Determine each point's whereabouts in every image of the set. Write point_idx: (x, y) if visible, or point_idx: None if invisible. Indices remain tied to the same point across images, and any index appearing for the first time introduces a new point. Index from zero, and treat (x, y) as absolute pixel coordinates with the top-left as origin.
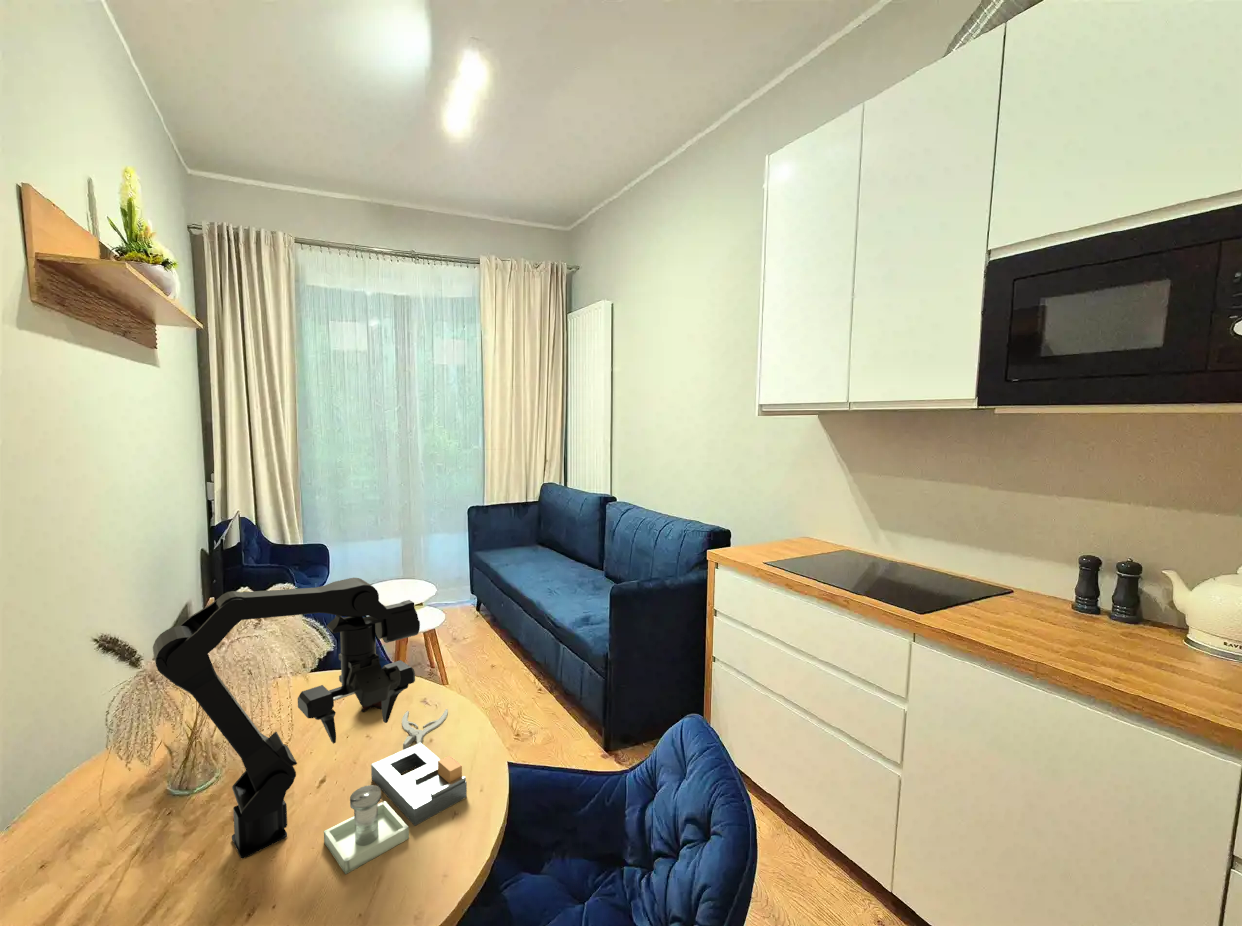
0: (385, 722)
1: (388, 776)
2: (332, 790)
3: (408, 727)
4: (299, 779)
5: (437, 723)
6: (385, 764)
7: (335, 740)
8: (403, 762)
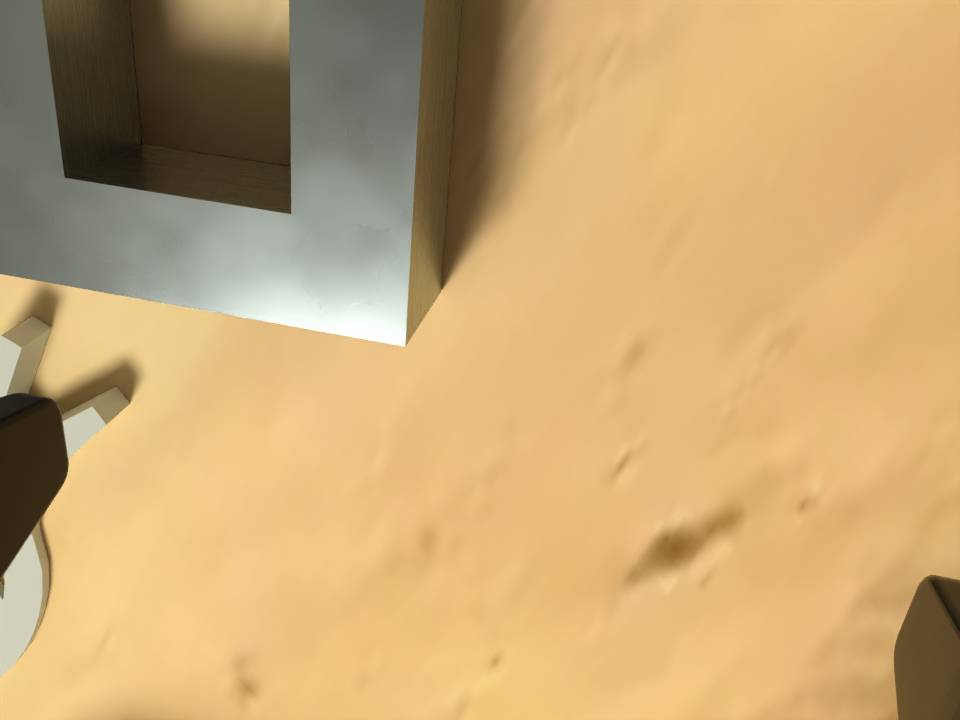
0: (48, 405)
1: (383, 47)
2: (693, 410)
3: (16, 560)
4: (756, 674)
5: None
6: (321, 241)
7: (953, 602)
8: (189, 183)
